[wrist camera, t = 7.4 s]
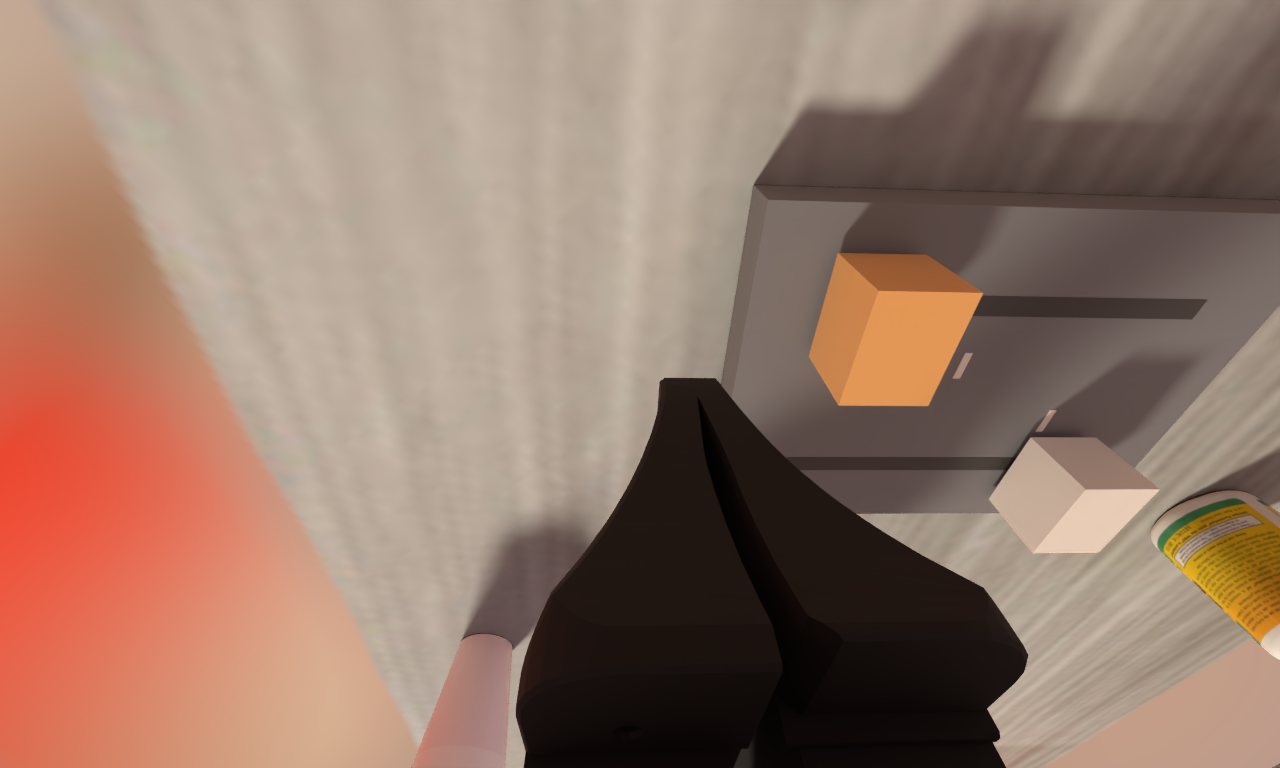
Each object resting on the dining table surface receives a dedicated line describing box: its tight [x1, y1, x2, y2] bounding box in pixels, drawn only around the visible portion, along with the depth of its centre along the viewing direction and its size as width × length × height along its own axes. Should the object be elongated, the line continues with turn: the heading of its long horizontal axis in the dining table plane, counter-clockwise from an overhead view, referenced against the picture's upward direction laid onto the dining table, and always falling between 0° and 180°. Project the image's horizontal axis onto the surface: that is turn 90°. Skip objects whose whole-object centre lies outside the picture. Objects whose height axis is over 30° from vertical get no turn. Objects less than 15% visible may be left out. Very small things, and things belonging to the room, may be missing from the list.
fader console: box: [721, 185, 1280, 514], centre depth 20 cm, size 15×20×2 cm
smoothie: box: [411, 634, 512, 768], centre depth 29 cm, size 6×6×14 cm
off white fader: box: [989, 437, 1160, 553], centre depth 21 cm, size 4×3×3 cm
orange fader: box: [809, 253, 983, 406], centre depth 15 cm, size 4×3×3 cm
